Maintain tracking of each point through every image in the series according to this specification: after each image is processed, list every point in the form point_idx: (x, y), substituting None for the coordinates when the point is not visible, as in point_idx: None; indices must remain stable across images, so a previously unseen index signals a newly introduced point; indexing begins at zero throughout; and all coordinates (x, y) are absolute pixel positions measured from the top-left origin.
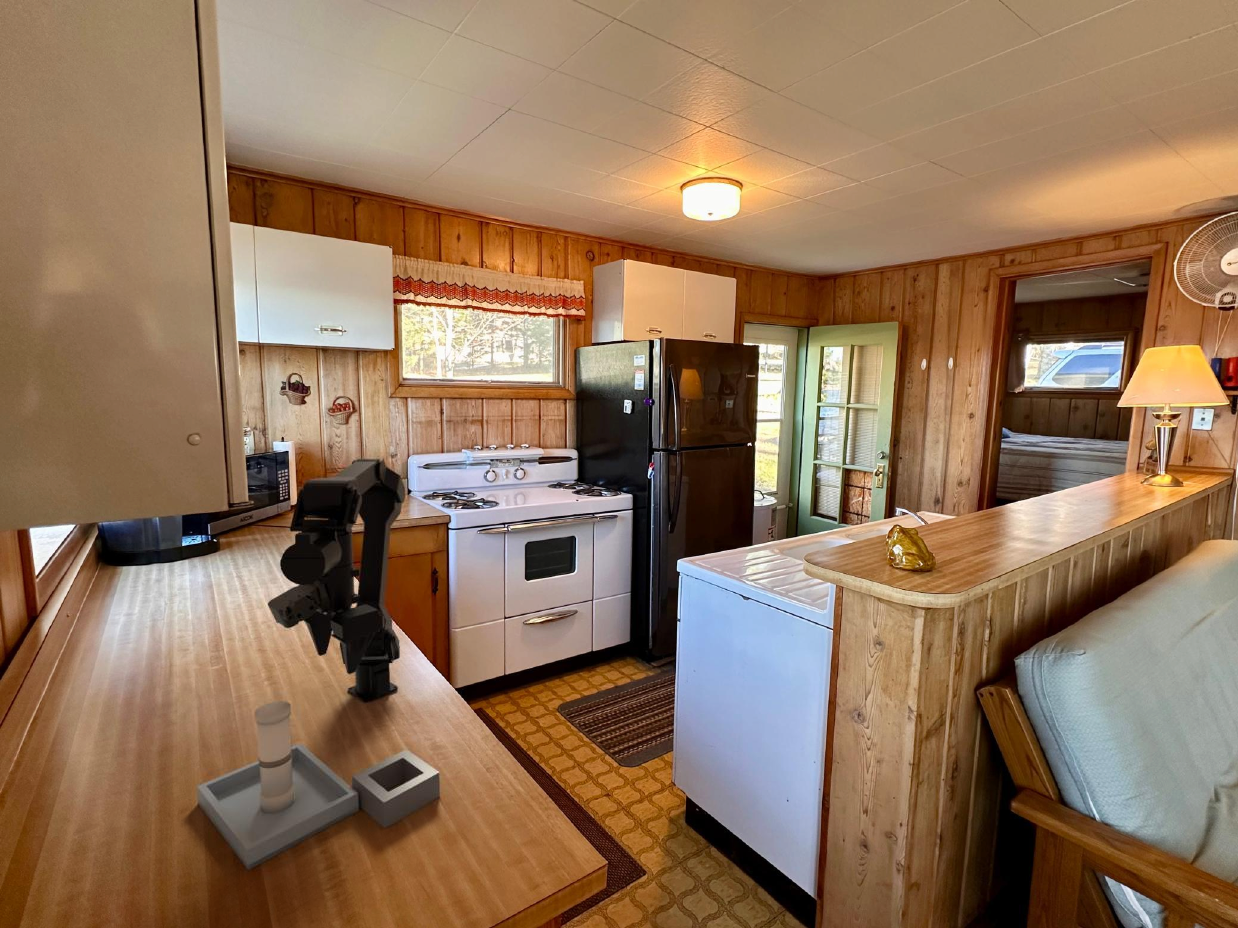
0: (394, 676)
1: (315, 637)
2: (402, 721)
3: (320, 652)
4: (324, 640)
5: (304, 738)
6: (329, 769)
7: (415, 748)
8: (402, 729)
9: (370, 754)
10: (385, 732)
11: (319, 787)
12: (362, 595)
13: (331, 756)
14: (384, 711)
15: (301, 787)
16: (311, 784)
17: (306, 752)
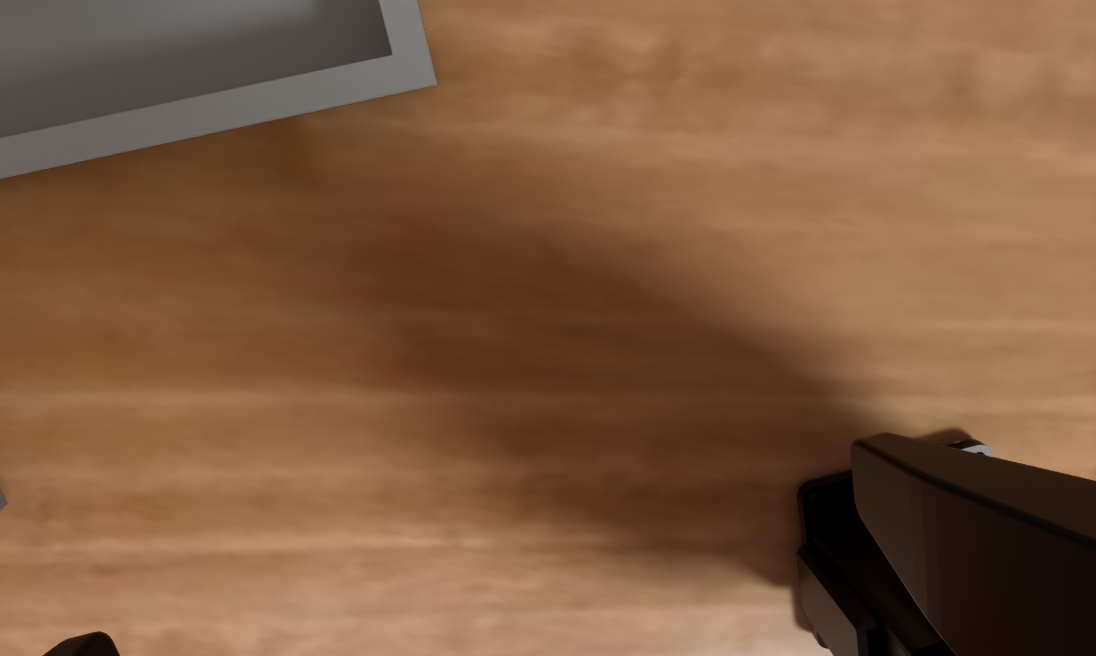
0: None
1: (1065, 555)
2: (506, 587)
3: (873, 471)
4: (980, 619)
5: (652, 148)
6: (13, 168)
7: (220, 579)
8: (431, 571)
9: (286, 396)
10: (452, 500)
11: (29, 100)
12: None
13: (380, 230)
14: (656, 540)
15: (85, 15)
16: (85, 69)
17: (299, 93)
